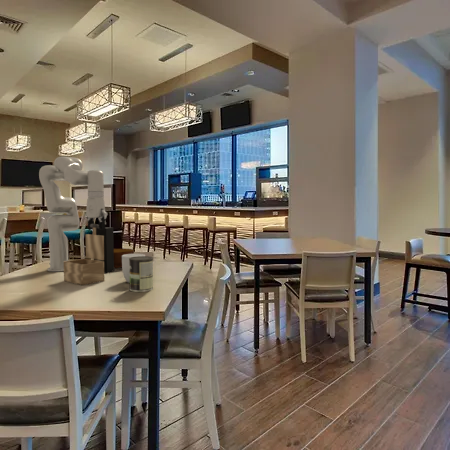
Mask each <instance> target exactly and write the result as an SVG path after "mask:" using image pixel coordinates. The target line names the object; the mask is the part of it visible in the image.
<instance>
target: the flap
mask: <svg viewBox="0 0 450 450" xmlns="http://www.w3.org/2000/svg"><path fill="white" fill-rule="evenodd" d="M90 227H91V228H93V229H92V234H89V233H88V234H85V259H92V260H94V259H98V260H104V236H100V235H96V228H99V223H98V224H97V223H94V224H90Z"/></svg>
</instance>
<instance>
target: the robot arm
mask: <svg viewBox="0 0 450 450" xmlns="http://www.w3.org/2000/svg"><path fill="white" fill-rule="evenodd" d="M53 164H54V165H51V164H49V165H43V166H41V168H39V170H38V171H39V172H38V176H39V177H38V178H39V181H40V185H41V187H42V189H43V191H44V196H45V197H44V198H45V202H46V203H45V204H46V208H47V210H48V212H49V213H51V214H55V215H51V216H49V217H48V218H47V220H46V226H47V231H48V237H49V239H48V240H49V263H48V264H49V267H48V268H46V271H48V272H64V261H69V242H68V241H69V240H68V237H67V236H66V233H64V232H72V231H77V230H79V228H80V216H79V211H78V206H77V202H76V200H75V199H74V198H73V197H71V196H63V195H62V192H61V188H60V187H59V186H58V184H57V183H56V182H57V181H58V182H68V183H69V184H71V185H74V186H87V200H86V212H85V216H86V220H87V229H88V230H93V228H91V227H90V224H95V221H94V220H95V219H97V218H98V225H99V227H98V228H99V230H105V227H106V224H105V223H107V222H106V220H107V218H108V217H107V216H108V212H107V211H106V203H105V199H104V198H105V196H104V191H105V190H104V189H105V188H104V172H103V171H101V170H95V169H94V170H83V161H81V159H80V158H78V157H71V156H58V157H56V158H55V159H54V162H53ZM55 181H56V182H55Z"/></svg>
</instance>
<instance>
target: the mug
mask: <svg viewBox="0 0 450 450" xmlns="http://www.w3.org/2000/svg"><path fill="white" fill-rule="evenodd" d="M138 256H146V254H145V253H144V254H143V253H134V254H125V255H122V268H121V270H122V276H123V278H124V280H125V281H126V283H128V284H130V265H129V264H130V263H129V258H131V257H138Z"/></svg>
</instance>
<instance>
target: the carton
mask: <svg viewBox="0 0 450 450" xmlns="http://www.w3.org/2000/svg"><path fill="white" fill-rule="evenodd" d="M63 281H64V282H67V283H70V284H74V285H79V286H86V285H87V286H88V285H91V284H96V283H101V282H102V283H103V282H105V273H104V261H98V260H94V259H92V258H80V259H72V260H68V261H64V271H63Z"/></svg>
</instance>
